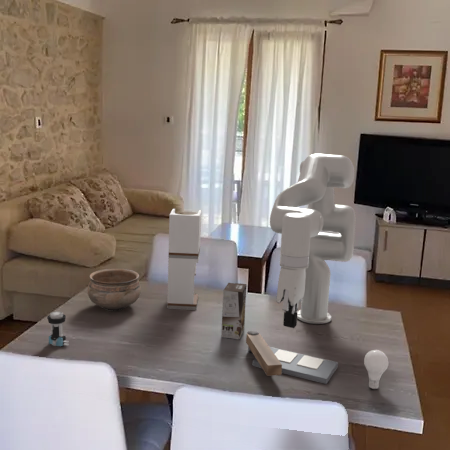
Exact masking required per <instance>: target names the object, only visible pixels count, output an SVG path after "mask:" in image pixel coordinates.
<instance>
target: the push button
mask: <svg viewBox="0 0 450 450" xmlns="http://www.w3.org/2000/svg"><path fill="white" fill-rule="evenodd" d="M46 317H47V321H48V323H49V324H50V335H49V336H48V345H50V344H52V345H51V346H53V347H56V346H57V347H61V346H62V347H63V346H69V345H70V344H69V342H70V341H69V340H67V337H66V335H64V333H63V324H64V323H65V322H66V315H65V314H64V312H62V311H57V310H56V311H51V312H50V314H49V315H47V316H46Z"/></svg>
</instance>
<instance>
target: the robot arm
mask: <svg viewBox="0 0 450 450" xmlns="http://www.w3.org/2000/svg"><path fill="white" fill-rule="evenodd" d="M355 174H356V173H355V166H354V164H353V161H352V160H351V158H349V157H348V156H346V155H342V154H329V153H313V154H310V155H308V156H307V157H305V158H304V160H302V161H301V162H300V165H299V177H298V179H297V182H295V183H294V184H292V185H290V186H289V187H286V188H285V189H284V190H282V191H281V192H280V193H279V194H278V195H277V196H276V198H275V200H274V202H273V206H272V208H271V212H270V217H269V226H270V229H271V230H272V231H273V232H274V233H276V234H280V235H281V239H280V253H279V266H280V270H279V275H278V281H277V282H278V284H277V288H276V289H277V290H276V303H277V304H281V303H282V311H283V322H282V323H283V324H282V325H283V327H287V328H291V329H295V327H297V322H298V320H299V321H301V322H304V323H307V324H314V325H321V324H328V323H330V322H331V321H332V314H331V313H329V312H328V310H329V299H330V298H329V297H330V286H331V275H332V274H331V270H330V267H329V265H328V264H327V262H326V261H332V262H341V263H346V262H350V261H351V260H352V259H353V256H354V251H355V250H354V249H355V235H356V223H357V222H356V221H357V219H356V211H355V209H354V208H353V207H352V206H350V205H347V204H336V203H335V195H336V194H335V189H334V188H338V189H340V188H341V189H348V188H350V187H351V186H352V185H353V183H354V180H355ZM307 205H308V208H305V207H304V206H307ZM299 303H300V309H299ZM298 309H299V310H298Z"/></svg>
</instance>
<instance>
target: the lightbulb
mask: <svg viewBox="0 0 450 450" xmlns="http://www.w3.org/2000/svg"><path fill="white" fill-rule="evenodd" d="M363 364H364V367H365V369H366V370H367V371H366V372H367V374H368V380H369V381H368V387H369V388H370V389H371V390H376V389H379V388H380V387H379V385H380V379H381V378H382V375H383V374H384V373H385V372H386V371H387V369H388V367H389V358H388V356H387V354H386V353H384V352H383V351H382V350H379V349H372V350H369V351H368V352H367V353H366V354H365V356H364V359H363Z"/></svg>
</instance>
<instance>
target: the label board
mask: <svg viewBox="0 0 450 450" xmlns="http://www.w3.org/2000/svg"><path fill="white" fill-rule="evenodd" d="M269 347H270V349H271V350H272V351H273V353H274V354H275V356H276V357H277V358H278V360H279V361H280V363H281V364H282V372H281V374H285V375H288V376H293V377H297V378H301V379H305V380H309V381H313V382H317V383H320V384H325V385H327V384H328V383H329V381H330V380H331V378H332V376H333V375H334V373H335V372H336V370H337V369H338V365H339V362H338V361H333V360H329V359H326V358H325V359H324V358H320V357H316V356H313V355H312V356H311V355H308V354H302V353H299V352H295V351H291V350H286V349H282V348H277V347H273V346H269ZM252 366H253V367H255V368H256V367H257V368H260V369H262V367H261V365H260V364H259V362H258V361H257V359H256V358H255V357H254V359H253V360H252Z"/></svg>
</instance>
